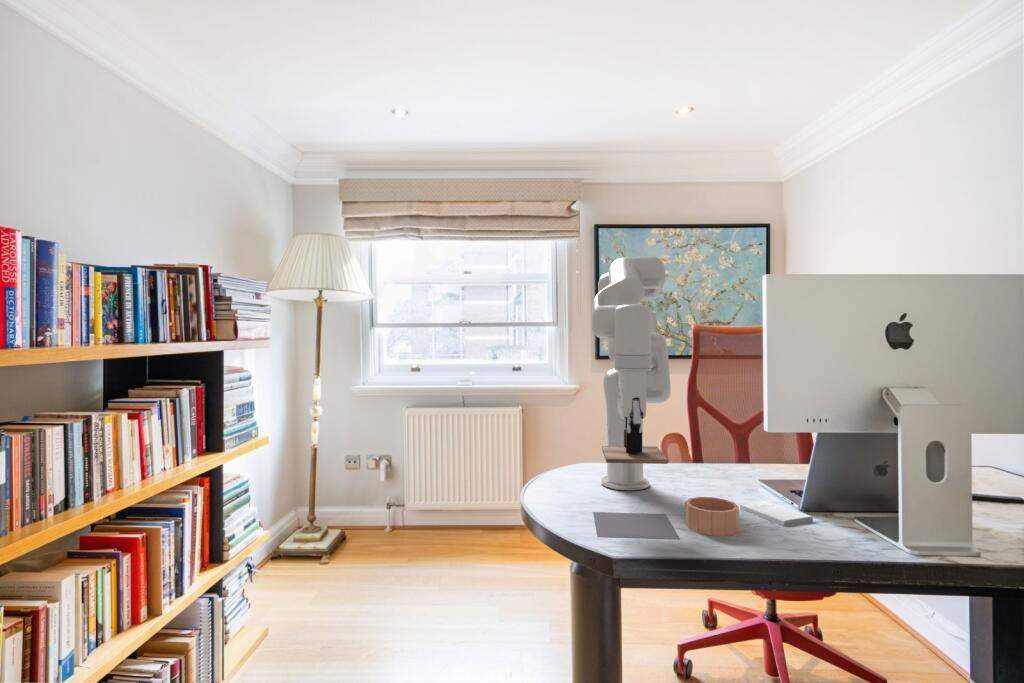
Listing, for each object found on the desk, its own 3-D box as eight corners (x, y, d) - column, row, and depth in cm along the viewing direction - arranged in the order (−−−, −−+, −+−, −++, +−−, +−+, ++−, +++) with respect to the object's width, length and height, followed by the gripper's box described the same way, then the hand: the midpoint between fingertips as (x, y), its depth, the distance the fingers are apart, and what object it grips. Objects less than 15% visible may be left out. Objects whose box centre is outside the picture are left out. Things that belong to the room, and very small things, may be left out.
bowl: (681, 519, 115) (681, 496, 115) (729, 520, 114) (729, 497, 114) (693, 536, 105) (692, 511, 105) (745, 537, 105) (744, 512, 104)
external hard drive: (783, 528, 111) (739, 510, 123) (813, 523, 114) (767, 506, 125) (783, 520, 111) (739, 503, 123) (813, 516, 114) (767, 499, 125)
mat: (593, 513, 120) (593, 512, 120) (665, 515, 118) (665, 513, 118) (597, 538, 105) (597, 536, 105) (680, 540, 103) (680, 539, 103)
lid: (602, 449, 118) (602, 423, 118) (656, 450, 117) (656, 424, 117) (606, 462, 106) (606, 434, 106) (667, 463, 105) (667, 434, 105)
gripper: (611, 361, 120) (611, 442, 120) (618, 365, 104) (619, 459, 104) (644, 361, 119) (645, 442, 120) (657, 365, 103) (658, 460, 103)
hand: (633, 449), depth 112 cm, fingers closed on lid, 3 cm apart
